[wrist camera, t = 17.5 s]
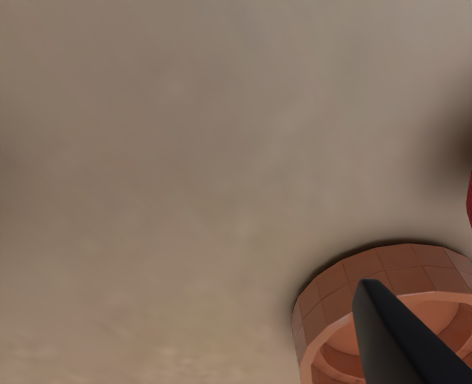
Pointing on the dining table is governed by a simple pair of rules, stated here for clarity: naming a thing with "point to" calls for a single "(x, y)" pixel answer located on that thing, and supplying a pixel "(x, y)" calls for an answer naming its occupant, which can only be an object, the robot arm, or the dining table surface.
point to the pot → (402, 286)
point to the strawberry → (469, 200)
